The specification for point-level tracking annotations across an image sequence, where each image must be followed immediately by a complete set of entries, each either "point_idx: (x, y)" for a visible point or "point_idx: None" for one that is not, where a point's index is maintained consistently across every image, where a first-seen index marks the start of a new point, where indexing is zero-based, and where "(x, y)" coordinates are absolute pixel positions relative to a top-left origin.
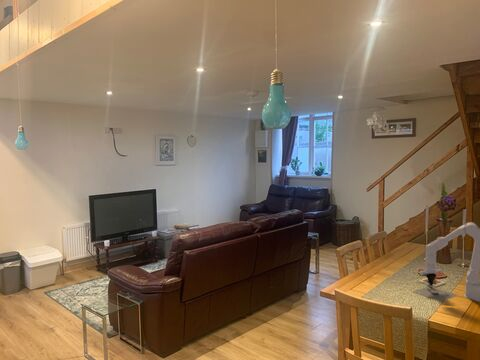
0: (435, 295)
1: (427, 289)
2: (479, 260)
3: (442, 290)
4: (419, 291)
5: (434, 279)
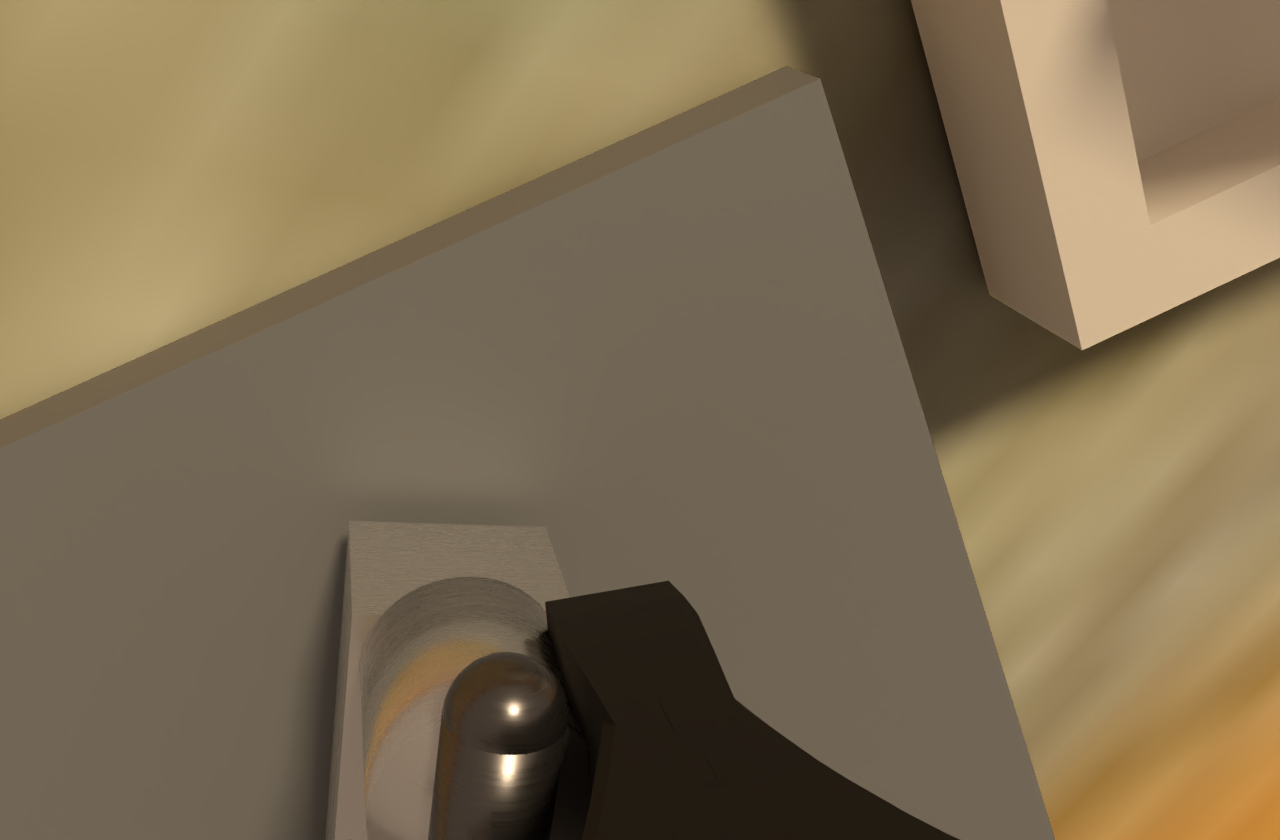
0: None
1: None
2: None
3: (982, 744)
4: None
5: None
